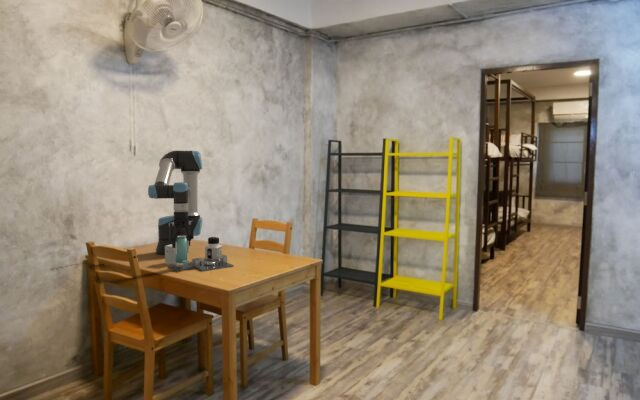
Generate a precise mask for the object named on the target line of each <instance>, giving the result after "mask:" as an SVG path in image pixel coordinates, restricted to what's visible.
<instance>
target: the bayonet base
mask: <svg viewBox="0 0 640 400" xmlns="http://www.w3.org/2000/svg"><path fill="white" fill-rule="evenodd" d="M216 258H219V259H214V260H205V258H203V257H198V258H197V257H196V258H192V259H191V260H192V261H191V262H188V264H189V265H191V266H193V267H195V268H196V269H195V270H198V271H200V272H207V271H213V270H221V269H225V268H226V269H227V268H232V267H234V264H232V263H230V262H228V255H226V254H223V253H222V255H216Z"/></svg>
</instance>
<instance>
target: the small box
mask: <svg viewBox="0 0 640 400" xmlns="http://www.w3.org/2000/svg"><path fill="white" fill-rule="evenodd" d="M175 258H176V254H174V248H173V247H172V244H170V245H166V246H165V255H164V261H165V262H164V264H165V265H171V266H175V265H182V263H176V260H175Z"/></svg>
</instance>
